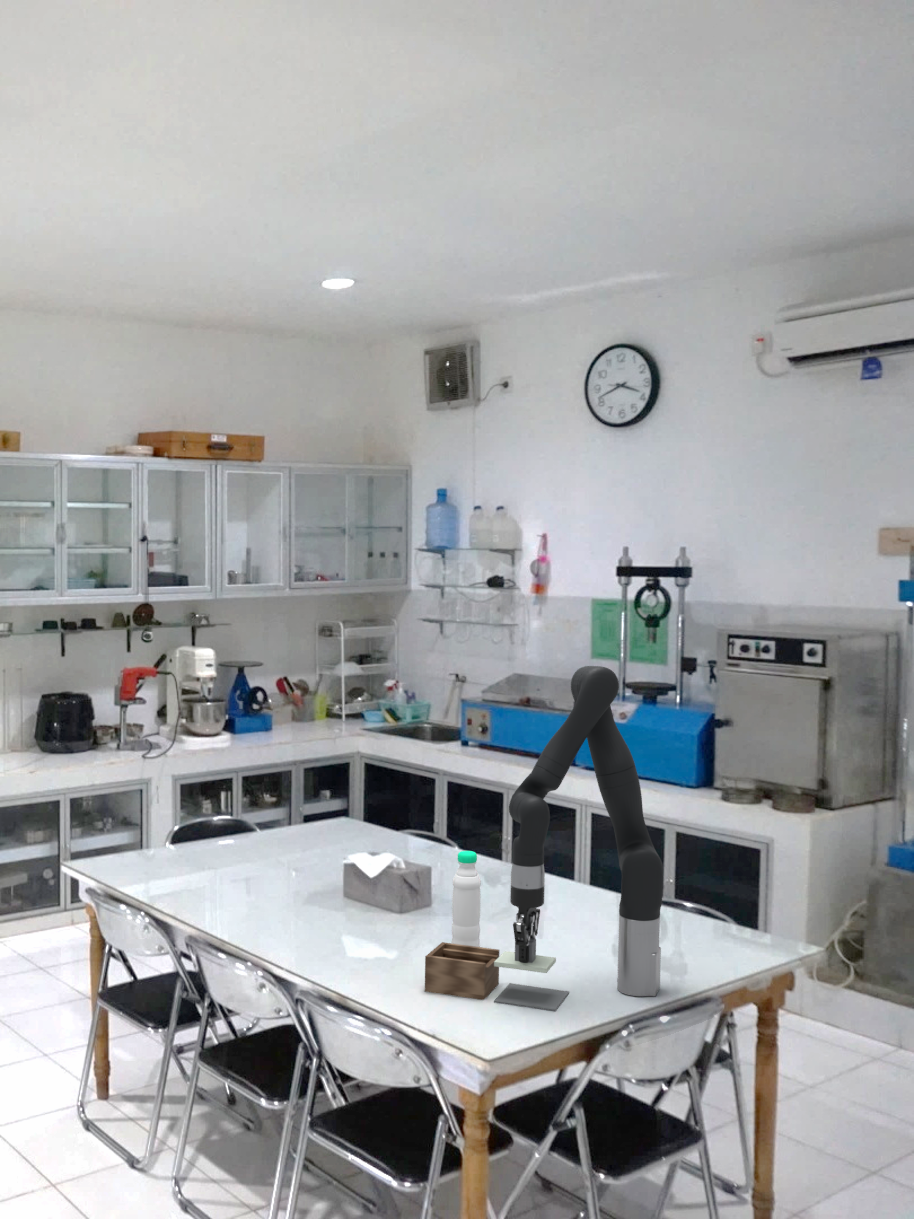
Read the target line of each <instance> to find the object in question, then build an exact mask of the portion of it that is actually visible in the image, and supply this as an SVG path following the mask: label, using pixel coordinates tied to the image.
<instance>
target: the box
mask: <svg viewBox="0 0 914 1219" xmlns="http://www.w3.org/2000/svg"><path fill="white" fill-rule="evenodd" d="M499 956H500V949H497V948H491V947H490V948H489V947H488V948H487V947H481V946H480V947H475V946H468V945H460V944H452V942H451V943H450V942H445V941H444V942H443V941H442V942H441V943H440V944H438V945H437V946H436V947H435V948H433V949H432V950H431V951H430V952H428V954H426V955H425V956H424V957H425V958H424V960H425V962H424V965H425V966H424V992H426V993H433V994H440V995H446V996H451V997H453V996H454V997H458V998H459V997H460V998H467V999H473V1000H482V1001H484V1000H485V999H486V998H488V996H489V995H490V994H491V993H492V992H493V991H494V989H496V988H497V986H498V985H499V984H500V983H499V982H500V967H496V966H494V961H495V960H496V959H497V958H498V957H499ZM495 987H496V988H495Z"/></svg>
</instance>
